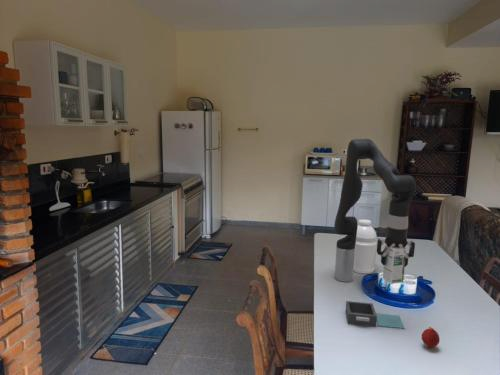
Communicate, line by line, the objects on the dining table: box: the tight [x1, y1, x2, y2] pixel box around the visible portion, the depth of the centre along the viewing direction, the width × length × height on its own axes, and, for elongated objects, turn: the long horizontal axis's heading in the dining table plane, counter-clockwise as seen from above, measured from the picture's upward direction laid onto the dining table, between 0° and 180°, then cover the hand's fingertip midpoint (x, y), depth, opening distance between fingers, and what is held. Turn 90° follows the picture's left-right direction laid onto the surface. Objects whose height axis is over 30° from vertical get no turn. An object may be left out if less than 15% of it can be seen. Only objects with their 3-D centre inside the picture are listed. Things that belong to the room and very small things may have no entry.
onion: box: [421, 326, 440, 349], centre depth 134 cm, size 6×6×8 cm
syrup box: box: [382, 244, 407, 285], centre depth 148 cm, size 6×6×14 cm
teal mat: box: [376, 312, 406, 330], centre depth 152 cm, size 10×10×1 cm
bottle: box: [353, 219, 378, 275], centre depth 203 cm, size 14×14×28 cm
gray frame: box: [344, 300, 378, 328], centre depth 153 cm, size 12×11×4 cm
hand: (393, 265), depth 148 cm, fingers closed on syrup box, 7 cm apart
